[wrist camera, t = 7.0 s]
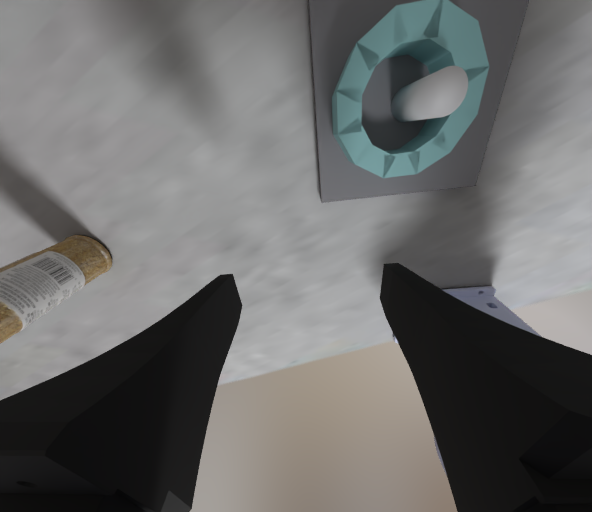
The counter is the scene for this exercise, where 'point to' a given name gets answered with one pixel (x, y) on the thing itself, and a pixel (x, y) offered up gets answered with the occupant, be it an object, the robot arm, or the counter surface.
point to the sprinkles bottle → (47, 280)
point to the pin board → (384, 82)
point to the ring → (435, 55)
